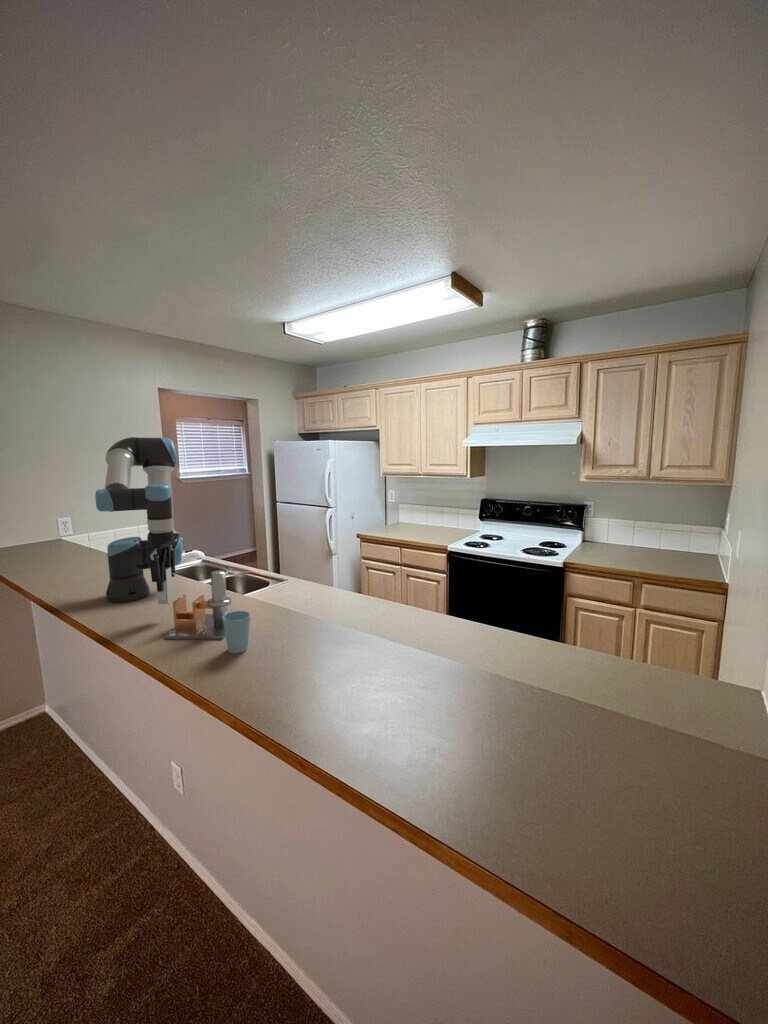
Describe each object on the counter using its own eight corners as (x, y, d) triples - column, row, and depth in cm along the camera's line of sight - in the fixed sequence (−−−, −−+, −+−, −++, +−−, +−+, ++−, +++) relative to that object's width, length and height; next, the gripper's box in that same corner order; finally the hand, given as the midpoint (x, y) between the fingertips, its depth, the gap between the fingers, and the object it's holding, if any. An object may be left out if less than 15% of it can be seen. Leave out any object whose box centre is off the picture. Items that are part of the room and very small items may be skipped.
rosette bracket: (191, 616, 150) (188, 564, 147) (242, 617, 150) (240, 564, 147) (165, 638, 132) (161, 579, 130) (222, 639, 132) (219, 580, 129)
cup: (248, 641, 131) (247, 608, 129) (254, 651, 124) (252, 617, 123) (222, 647, 127) (220, 613, 126) (227, 657, 120) (225, 622, 119)
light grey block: (163, 600, 148) (161, 566, 146) (173, 600, 148) (170, 567, 146) (158, 603, 145) (155, 569, 143) (168, 604, 145) (165, 570, 143)
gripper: (162, 525, 151) (166, 589, 154) (135, 535, 134) (140, 606, 138) (183, 526, 150) (187, 589, 154) (158, 536, 134) (163, 607, 138)
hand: (165, 597), depth 146 cm, fingers closed on light grey block, 3 cm apart
